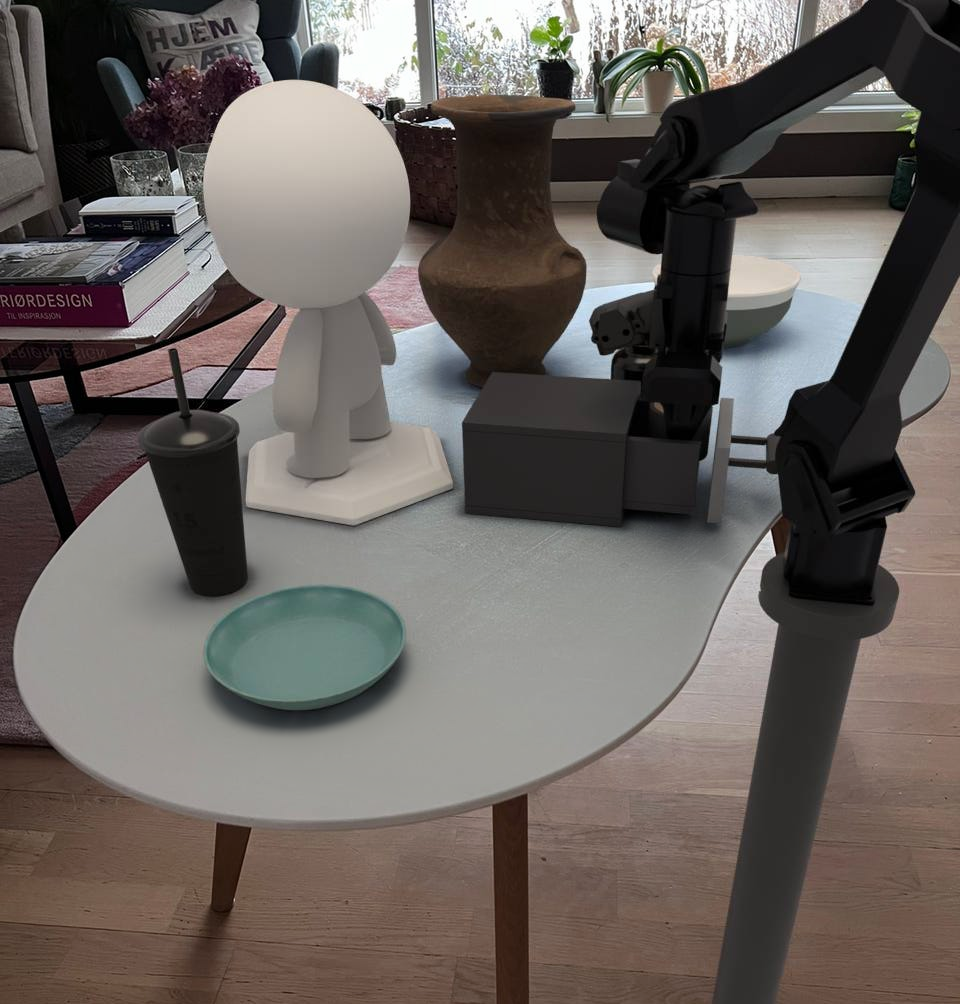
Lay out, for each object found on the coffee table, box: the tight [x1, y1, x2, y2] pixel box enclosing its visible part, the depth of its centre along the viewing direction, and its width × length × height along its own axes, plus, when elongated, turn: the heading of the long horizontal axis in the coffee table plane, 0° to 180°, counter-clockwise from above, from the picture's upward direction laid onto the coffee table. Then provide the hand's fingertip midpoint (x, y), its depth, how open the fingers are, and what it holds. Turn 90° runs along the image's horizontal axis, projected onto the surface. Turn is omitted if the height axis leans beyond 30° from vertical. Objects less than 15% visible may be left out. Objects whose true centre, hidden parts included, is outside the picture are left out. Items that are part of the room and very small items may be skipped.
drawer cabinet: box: [461, 372, 641, 528], centre depth 97 cm, size 15×13×9 cm
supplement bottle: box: [610, 339, 656, 397], centre depth 105 cm, size 7×7×12 cm
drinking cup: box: [137, 347, 249, 597], centre depth 81 cm, size 8×8×20 cm
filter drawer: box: [623, 397, 780, 524], centre depth 94 cm, size 18×11×7 cm, turn 77°
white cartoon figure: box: [202, 79, 454, 526], centre depth 93 cm, size 20×23×35 cm
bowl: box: [651, 253, 802, 348], centre depth 132 cm, size 19×19×8 cm
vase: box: [417, 93, 588, 388], centre depth 116 cm, size 19×19×30 cm
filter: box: [647, 402, 714, 463], centre depth 93 cm, size 6×6×5 cm
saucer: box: [202, 584, 407, 711], centre depth 75 cm, size 15×15×3 cm
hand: (678, 441), depth 94 cm, fingers closed on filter, 6 cm apart
